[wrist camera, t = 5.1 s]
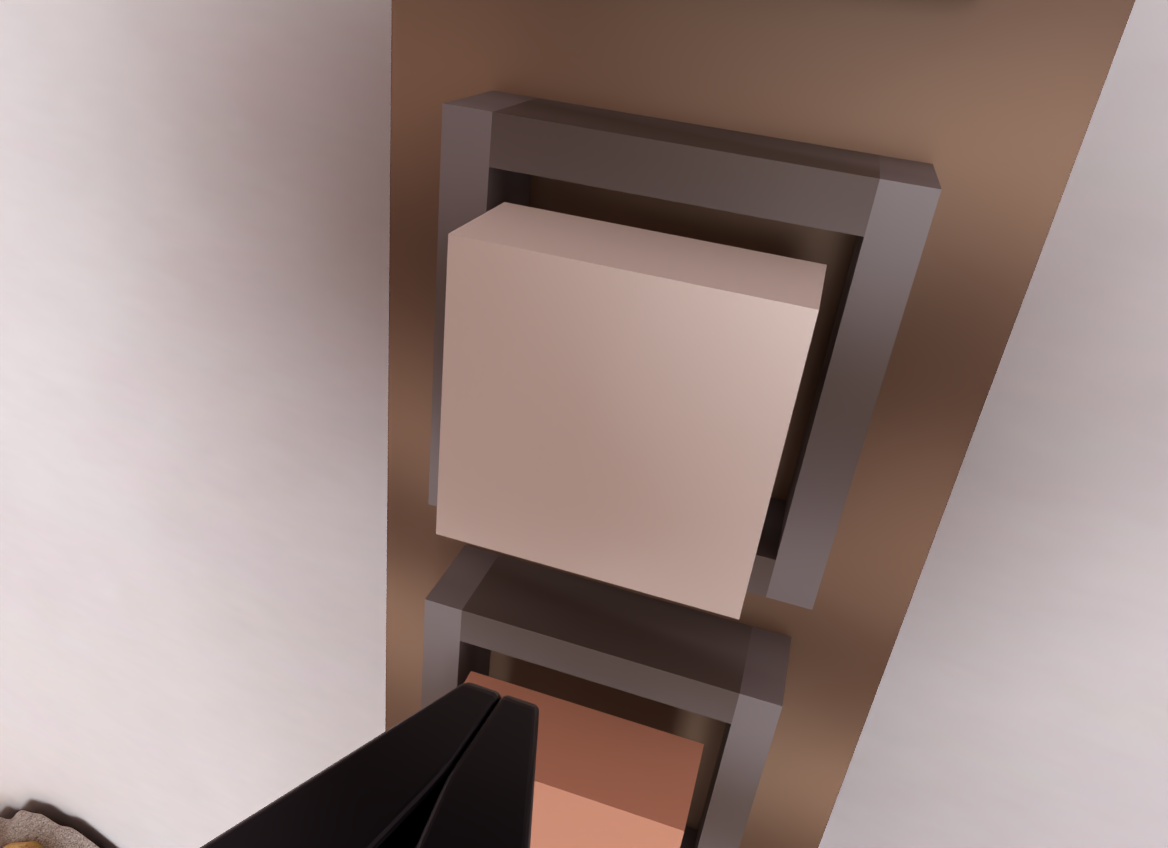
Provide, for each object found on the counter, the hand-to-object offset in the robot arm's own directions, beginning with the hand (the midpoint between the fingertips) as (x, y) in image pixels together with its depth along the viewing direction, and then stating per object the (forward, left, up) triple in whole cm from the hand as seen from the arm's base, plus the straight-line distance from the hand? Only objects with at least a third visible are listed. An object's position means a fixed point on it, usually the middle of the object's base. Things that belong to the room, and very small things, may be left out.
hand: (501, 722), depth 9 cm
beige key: (+1, +1, -6) cm, 6 cm away
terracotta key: (-7, -4, -6) cm, 10 cm away
